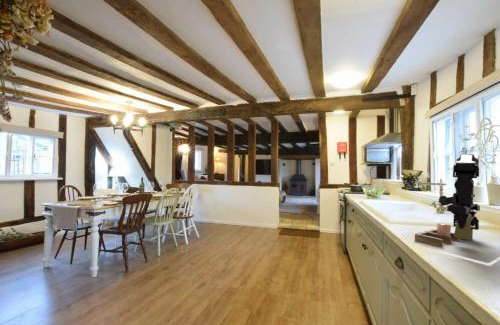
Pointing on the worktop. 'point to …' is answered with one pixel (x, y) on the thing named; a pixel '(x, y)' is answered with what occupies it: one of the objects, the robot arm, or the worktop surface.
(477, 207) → the robot arm
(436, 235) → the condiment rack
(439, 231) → the block
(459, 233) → the cork
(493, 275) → the worktop surface
